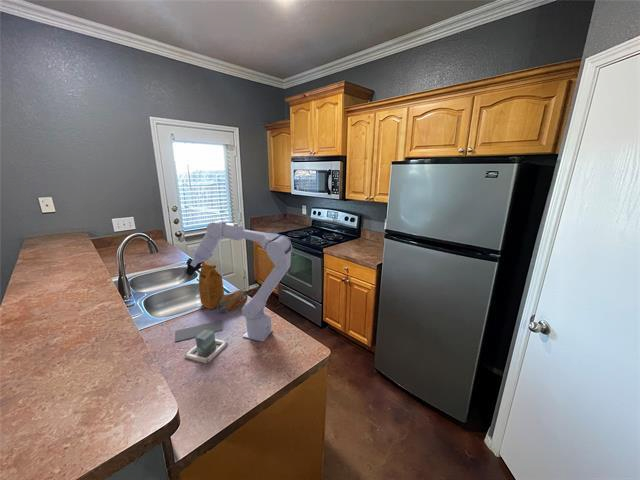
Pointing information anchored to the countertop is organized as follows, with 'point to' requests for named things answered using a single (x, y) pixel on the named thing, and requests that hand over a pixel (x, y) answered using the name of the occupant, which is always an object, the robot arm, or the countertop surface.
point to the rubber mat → (197, 330)
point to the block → (205, 342)
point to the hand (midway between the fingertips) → (193, 269)
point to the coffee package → (210, 285)
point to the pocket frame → (208, 359)
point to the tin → (231, 301)
